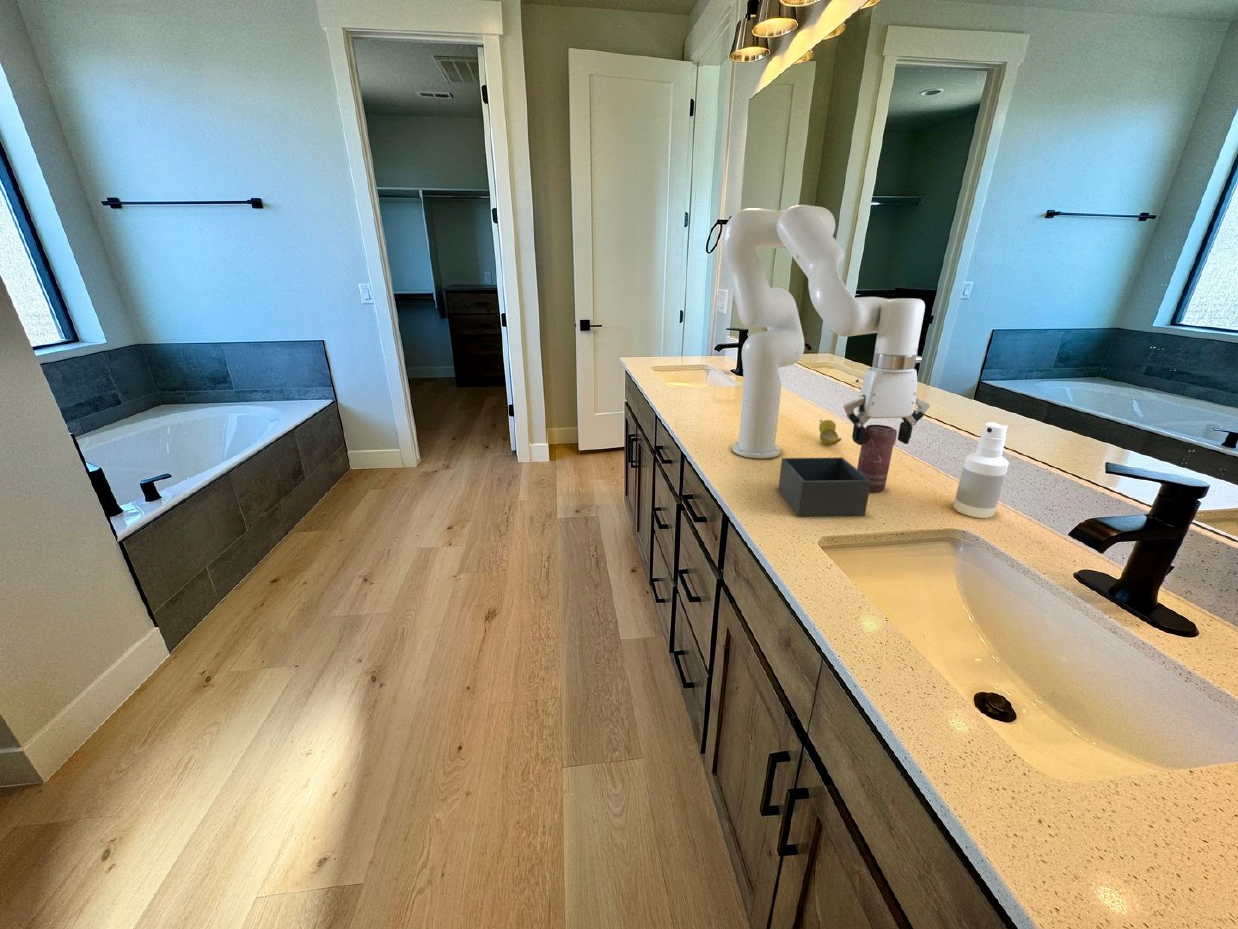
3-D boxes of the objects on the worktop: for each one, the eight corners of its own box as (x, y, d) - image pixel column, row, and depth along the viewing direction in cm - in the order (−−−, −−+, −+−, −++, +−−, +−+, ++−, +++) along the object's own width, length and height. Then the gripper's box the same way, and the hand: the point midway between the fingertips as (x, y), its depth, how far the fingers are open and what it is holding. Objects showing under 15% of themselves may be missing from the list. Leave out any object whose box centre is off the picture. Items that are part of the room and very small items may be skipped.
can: (889, 494, 107) (901, 432, 101) (857, 492, 108) (868, 431, 103) (881, 483, 112) (892, 424, 107) (851, 481, 113) (861, 423, 108)
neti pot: (825, 436, 145) (828, 414, 143) (846, 453, 131) (850, 429, 129) (810, 436, 145) (813, 414, 143) (830, 453, 131) (833, 429, 129)
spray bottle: (945, 506, 100) (966, 422, 94) (968, 501, 103) (990, 418, 96) (978, 521, 94) (1003, 431, 88) (1002, 515, 97) (1028, 427, 90)
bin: (778, 489, 110) (781, 458, 107) (837, 488, 110) (842, 457, 107) (798, 516, 97) (802, 481, 95) (864, 515, 97) (871, 481, 95)
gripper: (925, 358, 103) (910, 436, 109) (843, 360, 103) (832, 438, 109) (948, 364, 96) (930, 447, 102) (859, 366, 96) (847, 449, 102)
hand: (880, 442), depth 106 cm, fingers open, 9 cm apart
